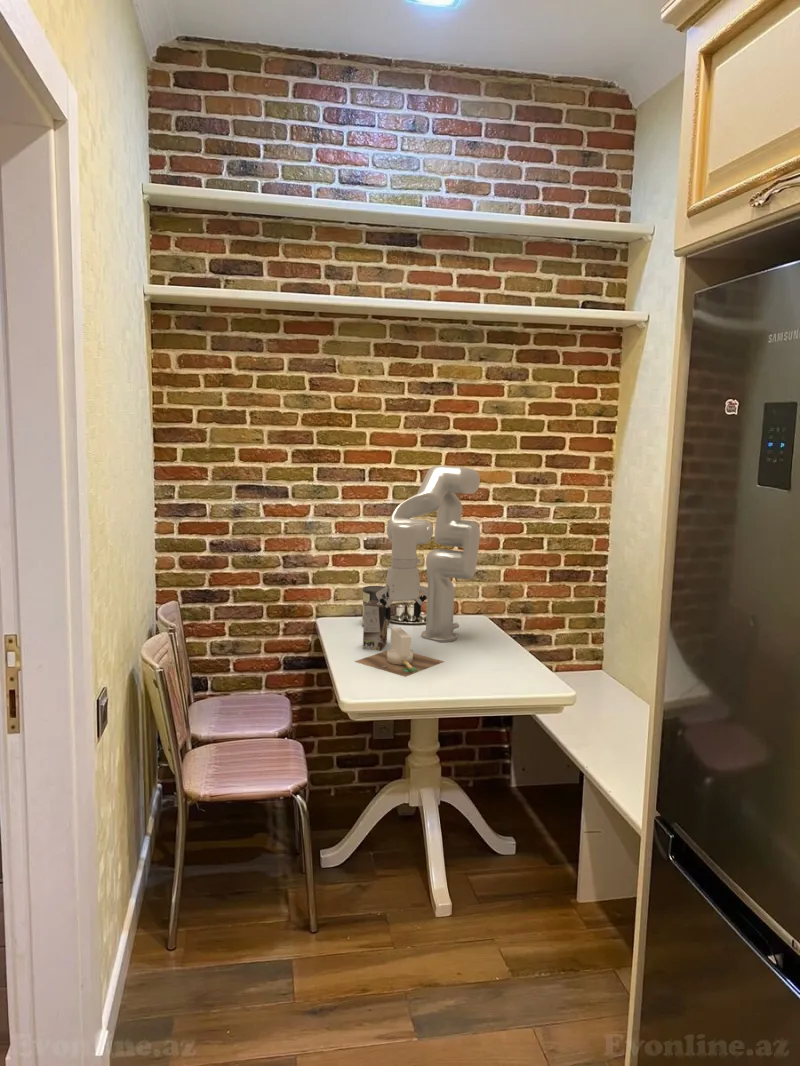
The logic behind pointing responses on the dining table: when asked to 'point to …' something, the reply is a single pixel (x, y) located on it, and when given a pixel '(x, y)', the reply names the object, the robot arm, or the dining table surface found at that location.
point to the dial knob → (400, 648)
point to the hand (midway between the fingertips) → (402, 617)
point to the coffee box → (374, 626)
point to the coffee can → (371, 597)
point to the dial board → (382, 663)
